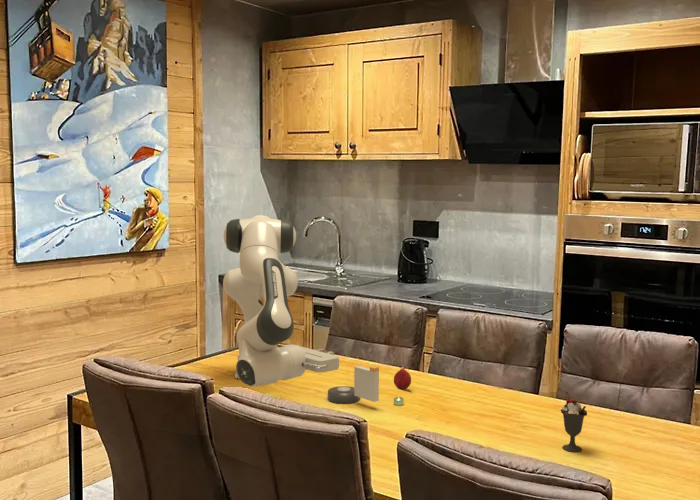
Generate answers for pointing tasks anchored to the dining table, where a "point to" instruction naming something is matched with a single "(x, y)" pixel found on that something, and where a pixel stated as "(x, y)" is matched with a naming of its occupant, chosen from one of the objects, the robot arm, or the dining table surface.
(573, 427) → the sundae
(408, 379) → the onion
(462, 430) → the dining table surface
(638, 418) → the dining table surface
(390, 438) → the dining table surface
